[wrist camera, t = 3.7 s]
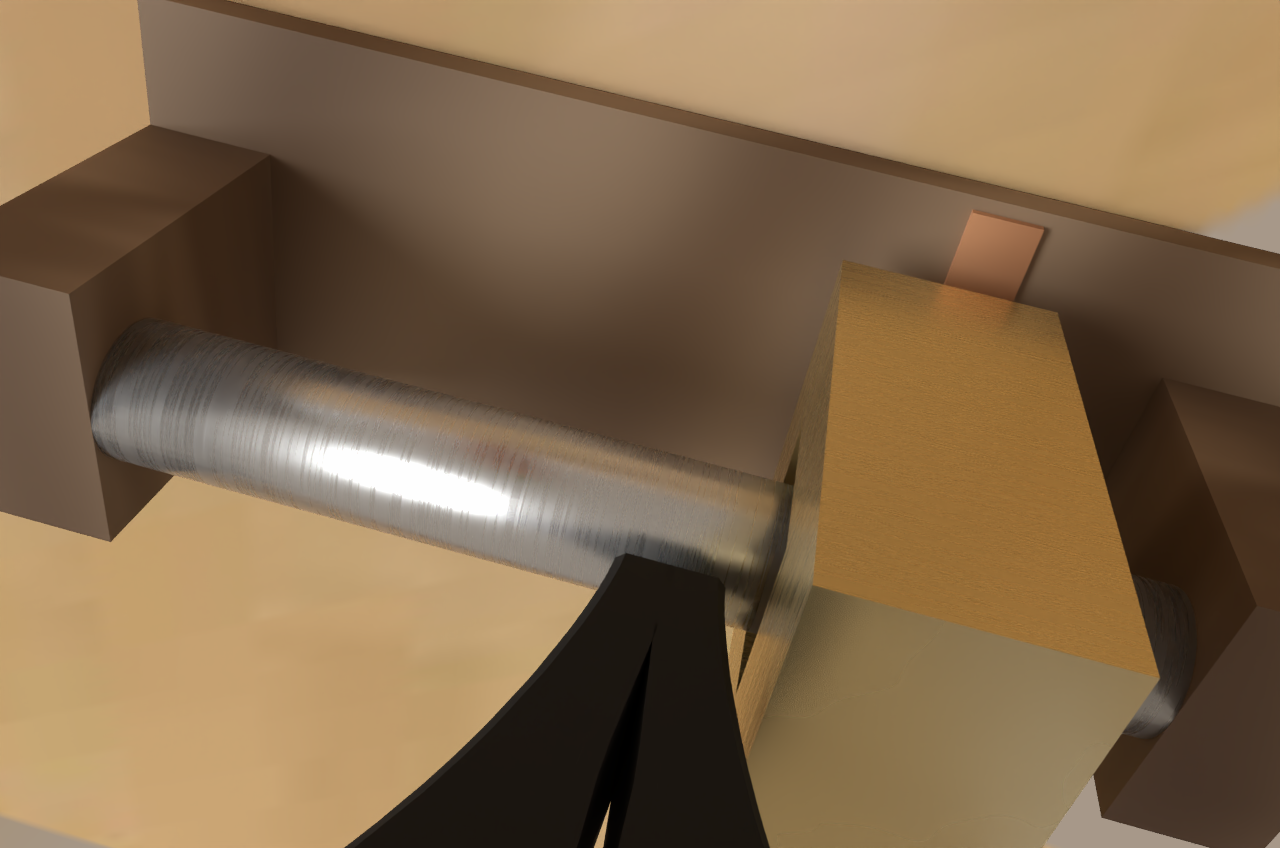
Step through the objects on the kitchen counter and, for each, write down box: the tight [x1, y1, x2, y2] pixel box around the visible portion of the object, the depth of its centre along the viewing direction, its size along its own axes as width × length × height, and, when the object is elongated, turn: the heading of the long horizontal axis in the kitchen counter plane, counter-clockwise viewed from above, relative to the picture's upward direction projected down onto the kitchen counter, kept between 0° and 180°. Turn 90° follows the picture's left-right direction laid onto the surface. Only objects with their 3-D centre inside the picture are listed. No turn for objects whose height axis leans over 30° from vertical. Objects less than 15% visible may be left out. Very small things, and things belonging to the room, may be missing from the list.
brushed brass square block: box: [728, 260, 1160, 848], centre depth 13 cm, size 3×6×7 cm, turn 170°
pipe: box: [90, 317, 1197, 739], centre depth 14 cm, size 18×2×2 cm, turn 80°
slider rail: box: [0, 0, 1280, 848], centre depth 15 cm, size 18×8×6 cm, turn 80°
